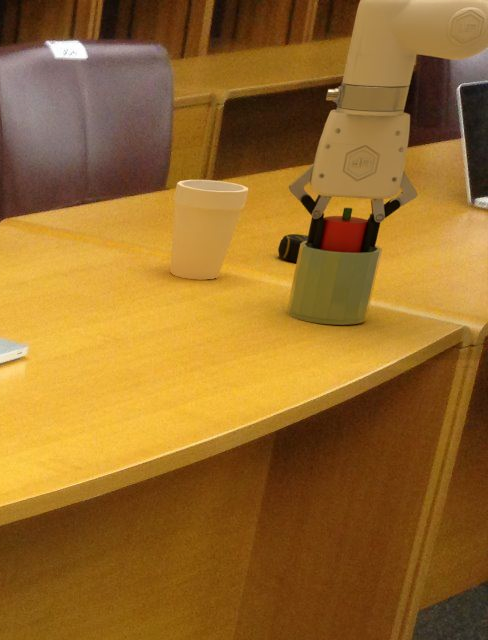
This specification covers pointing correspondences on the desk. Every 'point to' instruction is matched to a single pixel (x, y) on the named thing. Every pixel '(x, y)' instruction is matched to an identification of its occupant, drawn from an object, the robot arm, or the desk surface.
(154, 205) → the desk surface
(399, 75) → the robot arm
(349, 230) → the pepper
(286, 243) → the tape measure
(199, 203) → the foam cup
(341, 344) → the desk surface
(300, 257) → the ceramic cup
